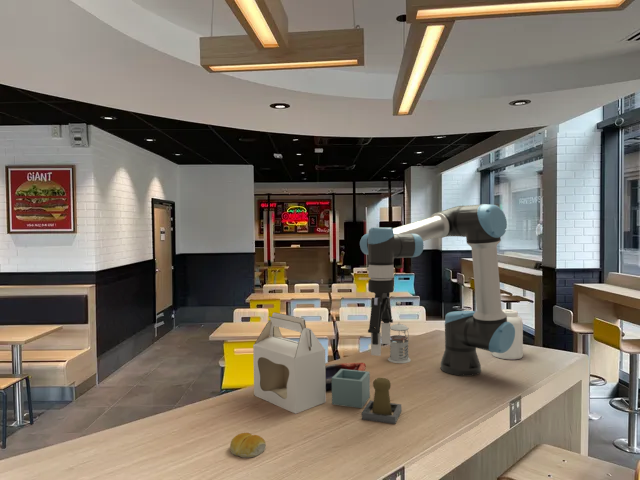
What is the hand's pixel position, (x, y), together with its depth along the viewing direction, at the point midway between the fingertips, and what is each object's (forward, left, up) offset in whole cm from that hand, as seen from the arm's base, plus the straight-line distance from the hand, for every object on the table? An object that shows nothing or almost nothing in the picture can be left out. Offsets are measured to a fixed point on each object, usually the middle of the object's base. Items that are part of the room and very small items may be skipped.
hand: (381, 349), depth 137 cm
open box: (+12, -8, -20) cm, 25 cm away
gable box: (+32, -3, -20) cm, 38 cm away
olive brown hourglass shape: (0, 0, -20) cm, 20 cm away
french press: (+5, -59, -20) cm, 63 cm away
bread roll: (+28, +32, -21) cm, 47 cm away
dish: (+23, -23, -21) cm, 38 cm away
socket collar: (0, 0, -20) cm, 20 cm away
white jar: (-38, -78, -20) cm, 89 cm away
